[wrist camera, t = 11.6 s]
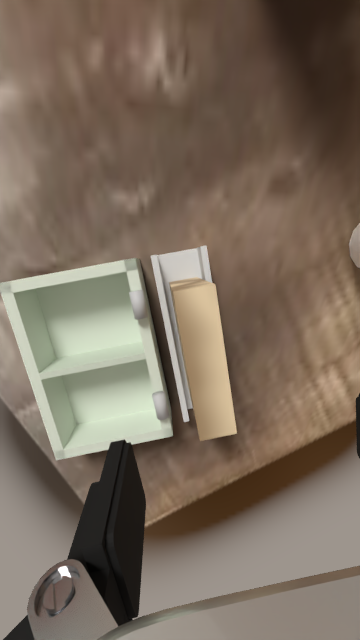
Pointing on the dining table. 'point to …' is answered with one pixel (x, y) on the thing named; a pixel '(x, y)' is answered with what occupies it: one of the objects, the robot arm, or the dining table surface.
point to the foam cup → (355, 246)
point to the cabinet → (101, 350)
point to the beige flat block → (204, 356)
